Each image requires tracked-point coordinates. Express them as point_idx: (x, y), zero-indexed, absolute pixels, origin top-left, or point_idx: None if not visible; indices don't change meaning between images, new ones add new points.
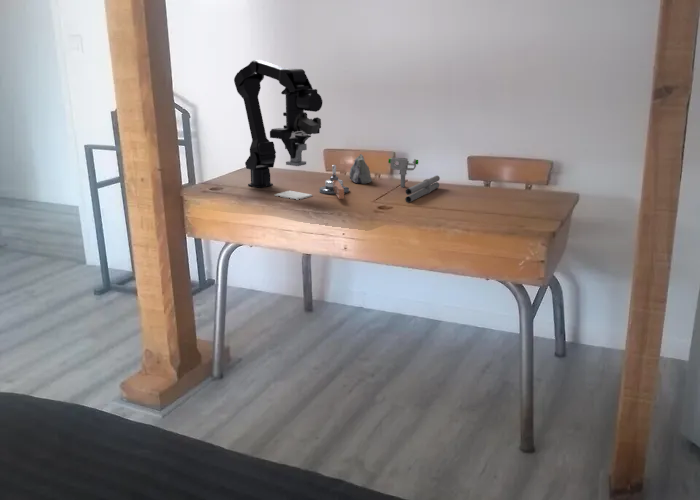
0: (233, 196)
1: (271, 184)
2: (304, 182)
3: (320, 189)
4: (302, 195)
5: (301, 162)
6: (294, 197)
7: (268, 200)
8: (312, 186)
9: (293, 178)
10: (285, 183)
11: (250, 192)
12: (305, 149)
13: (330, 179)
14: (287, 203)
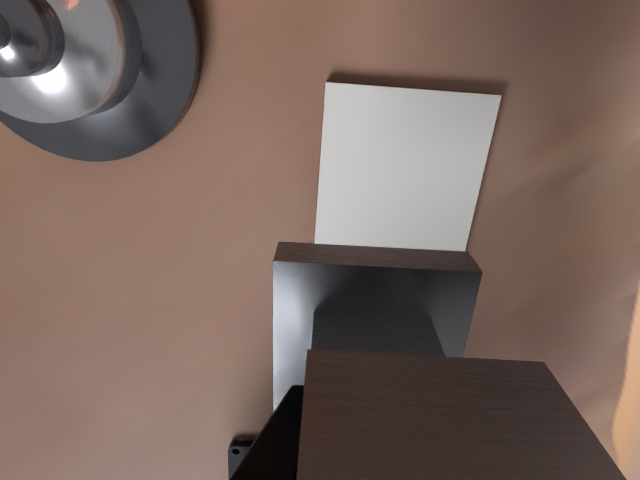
0: None
1: (245, 444)
2: (47, 363)
3: (177, 112)
4: (390, 129)
5: (390, 265)
6: (478, 137)
7: (583, 250)
8: (87, 267)
9: (27, 453)
10: (149, 420)
11: None
12: (360, 364)
13: (51, 53)
14: (623, 90)
